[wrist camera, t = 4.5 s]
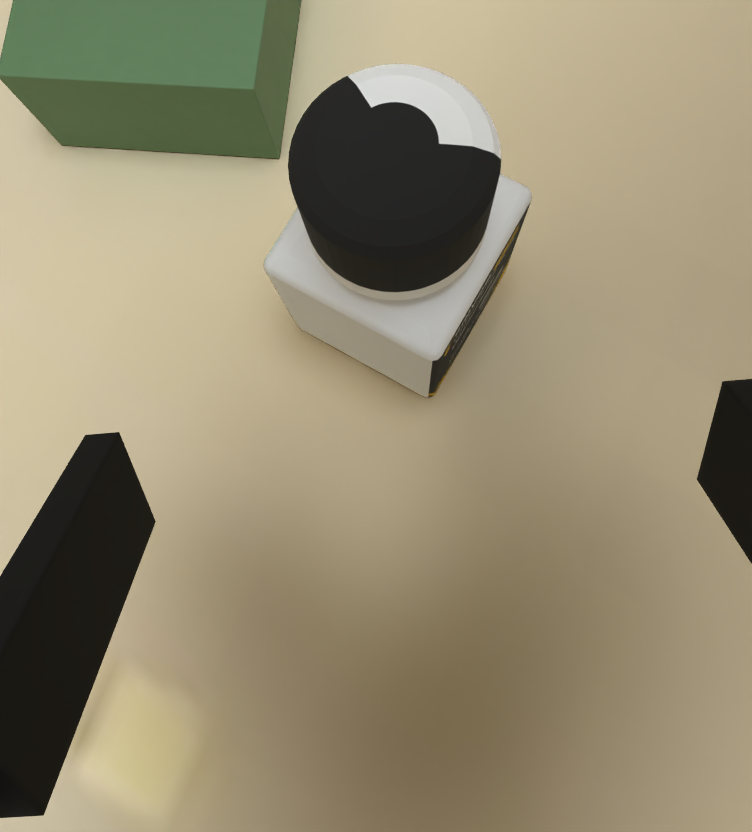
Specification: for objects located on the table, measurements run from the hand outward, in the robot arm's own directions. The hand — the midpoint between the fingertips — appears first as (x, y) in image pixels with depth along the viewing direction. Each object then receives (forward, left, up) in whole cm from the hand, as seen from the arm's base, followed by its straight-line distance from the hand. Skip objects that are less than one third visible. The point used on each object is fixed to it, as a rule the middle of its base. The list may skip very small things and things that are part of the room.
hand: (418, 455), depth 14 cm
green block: (+13, -21, -13) cm, 28 cm away
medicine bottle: (+1, -9, -14) cm, 16 cm away
